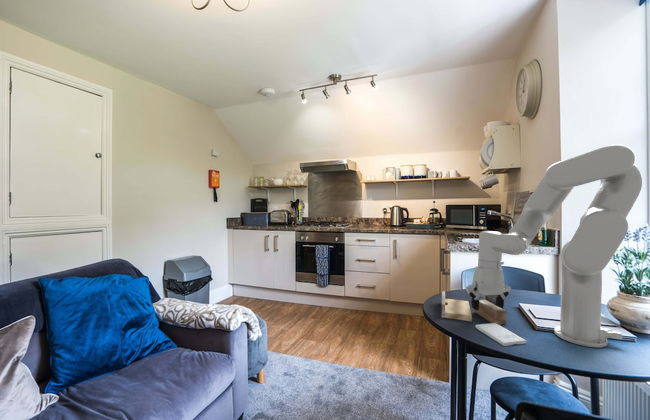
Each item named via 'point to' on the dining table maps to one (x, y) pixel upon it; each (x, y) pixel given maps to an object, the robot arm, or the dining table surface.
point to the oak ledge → (455, 309)
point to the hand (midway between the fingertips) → (487, 308)
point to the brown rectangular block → (491, 312)
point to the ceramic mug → (489, 298)
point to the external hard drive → (500, 334)
